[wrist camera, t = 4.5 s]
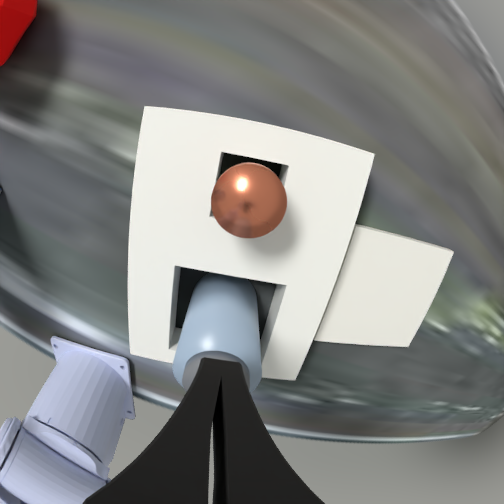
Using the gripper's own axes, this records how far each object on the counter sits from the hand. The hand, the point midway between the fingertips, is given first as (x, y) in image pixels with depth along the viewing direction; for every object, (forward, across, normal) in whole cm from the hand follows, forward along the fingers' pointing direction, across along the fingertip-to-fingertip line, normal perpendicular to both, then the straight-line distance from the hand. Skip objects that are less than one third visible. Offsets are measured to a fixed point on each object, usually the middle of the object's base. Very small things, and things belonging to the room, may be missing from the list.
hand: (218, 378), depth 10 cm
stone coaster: (+10, -12, 0) cm, 15 cm away
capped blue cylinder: (+10, 0, +3) cm, 10 cm away
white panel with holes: (+10, 0, -1) cm, 10 cm away
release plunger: (+9, 0, -5) cm, 11 cm away
